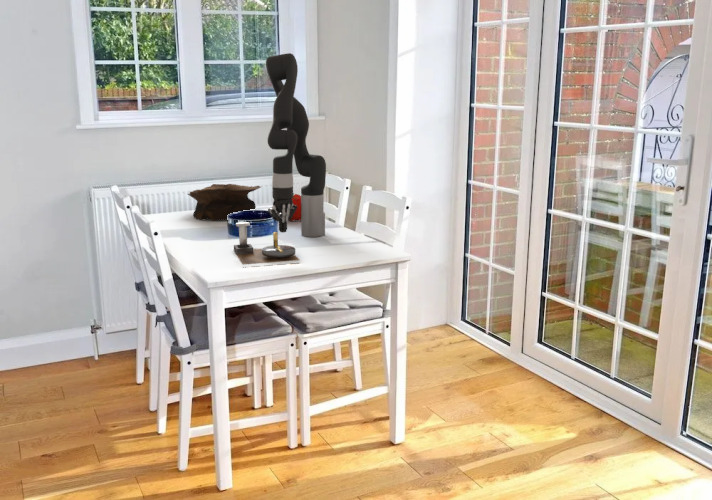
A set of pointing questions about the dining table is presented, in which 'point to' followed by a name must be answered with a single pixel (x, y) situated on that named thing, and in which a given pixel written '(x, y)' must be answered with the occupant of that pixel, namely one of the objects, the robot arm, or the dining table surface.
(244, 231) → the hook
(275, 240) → the handwheel
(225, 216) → the brown irregular lump
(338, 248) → the dining table surface
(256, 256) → the board
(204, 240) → the dining table surface
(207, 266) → the dining table surface
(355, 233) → the dining table surface
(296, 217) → the tomato
